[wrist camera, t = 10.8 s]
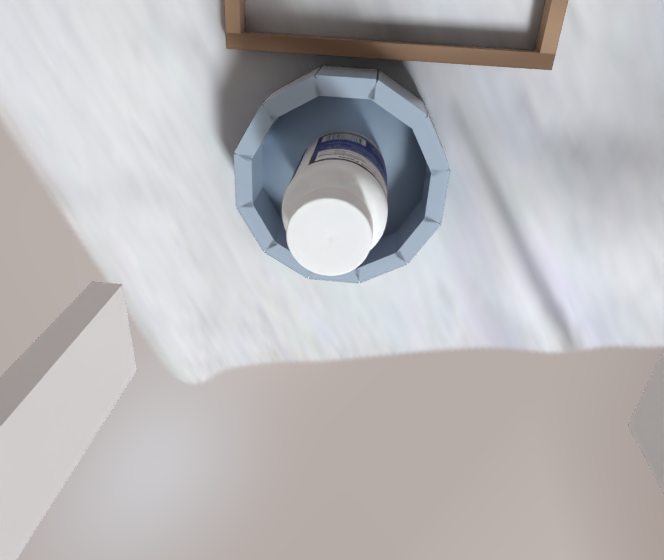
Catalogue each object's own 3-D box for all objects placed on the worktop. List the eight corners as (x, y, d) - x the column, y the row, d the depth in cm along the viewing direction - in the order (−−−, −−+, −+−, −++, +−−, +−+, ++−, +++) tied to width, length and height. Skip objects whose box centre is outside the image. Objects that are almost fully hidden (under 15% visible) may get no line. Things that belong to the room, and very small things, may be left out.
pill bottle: (339, 228, 34) (325, 309, 26) (282, 168, 33) (246, 232, 24) (405, 176, 32) (412, 244, 24) (347, 108, 31) (332, 156, 22)
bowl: (246, 60, 30) (230, 69, 27) (456, 74, 30) (464, 85, 27) (251, 247, 36) (238, 272, 33) (426, 262, 36) (430, 289, 33)
